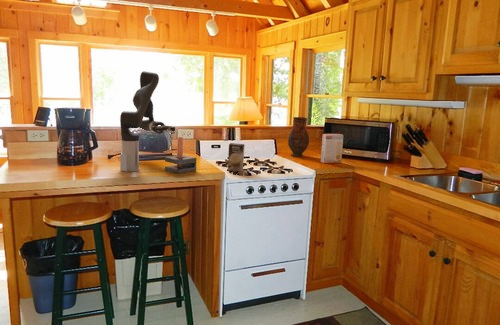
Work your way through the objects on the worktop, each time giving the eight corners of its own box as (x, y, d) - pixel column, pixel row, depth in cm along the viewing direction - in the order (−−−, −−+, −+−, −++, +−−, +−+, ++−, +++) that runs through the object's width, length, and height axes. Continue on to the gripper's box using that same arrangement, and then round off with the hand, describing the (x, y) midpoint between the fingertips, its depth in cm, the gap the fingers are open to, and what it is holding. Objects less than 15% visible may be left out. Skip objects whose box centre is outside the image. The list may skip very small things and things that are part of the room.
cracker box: (336, 162, 276) (339, 133, 272) (341, 163, 270) (344, 134, 266) (319, 162, 271) (322, 133, 267) (324, 163, 266) (326, 134, 262)
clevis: (178, 174, 210) (179, 160, 209) (164, 170, 217) (164, 157, 216) (196, 171, 221) (196, 157, 219) (182, 167, 228) (182, 154, 226)
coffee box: (227, 170, 226) (228, 144, 223) (228, 168, 233) (229, 142, 230) (242, 171, 226) (243, 145, 223) (243, 169, 232) (244, 143, 229)
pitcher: (290, 158, 282) (293, 118, 277) (282, 153, 303) (284, 115, 297) (311, 158, 286) (314, 118, 280) (301, 153, 306) (304, 116, 301)
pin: (179, 171, 216) (180, 137, 212) (175, 170, 218) (176, 136, 214) (183, 171, 219) (183, 137, 215) (179, 170, 220) (180, 136, 217)
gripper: (146, 121, 235) (157, 123, 223) (167, 121, 244) (178, 123, 231) (146, 133, 236) (156, 136, 224) (167, 132, 245) (178, 135, 232)
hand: (168, 129), depth 227 cm, fingers open, 8 cm apart
